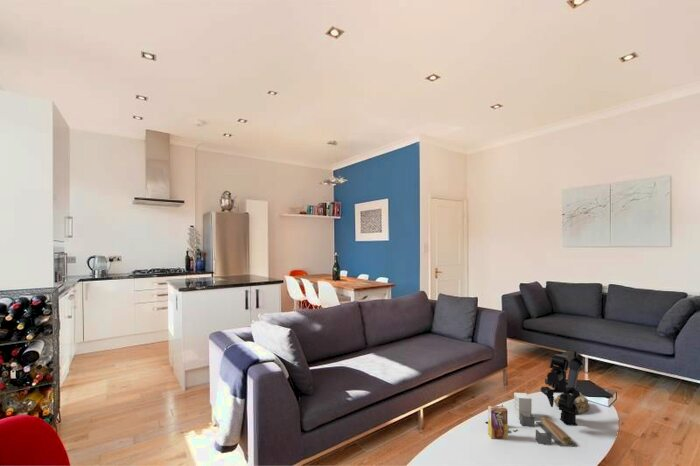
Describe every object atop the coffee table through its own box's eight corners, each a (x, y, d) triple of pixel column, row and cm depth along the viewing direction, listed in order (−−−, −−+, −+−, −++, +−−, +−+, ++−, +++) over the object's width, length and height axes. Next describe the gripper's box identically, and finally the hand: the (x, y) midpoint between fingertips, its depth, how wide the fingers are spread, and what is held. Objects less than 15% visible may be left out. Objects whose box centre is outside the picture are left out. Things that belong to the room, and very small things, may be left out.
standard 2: (548, 440, 171) (548, 430, 172) (551, 444, 168) (551, 433, 169) (535, 440, 172) (535, 429, 172) (538, 443, 168) (538, 433, 169)
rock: (575, 419, 195) (570, 401, 197) (553, 413, 208) (548, 396, 210) (596, 409, 204) (591, 392, 206) (574, 404, 217) (569, 388, 219)
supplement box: (526, 413, 198) (526, 392, 199) (531, 420, 191) (531, 398, 191) (513, 413, 199) (513, 392, 199) (518, 419, 192) (518, 397, 192)
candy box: (504, 434, 176) (504, 405, 177) (508, 439, 172) (508, 409, 172) (487, 433, 176) (487, 405, 177) (491, 438, 172) (491, 409, 172)
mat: (551, 422, 189) (551, 422, 189) (577, 446, 167) (577, 446, 167) (535, 422, 189) (535, 421, 189) (559, 446, 167) (559, 445, 167)
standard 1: (531, 423, 187) (531, 414, 188) (534, 426, 184) (534, 416, 185) (519, 423, 187) (520, 413, 188) (522, 426, 184) (522, 416, 185)
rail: (547, 423, 188) (547, 416, 188) (570, 444, 168) (570, 437, 168) (541, 422, 188) (541, 416, 188) (564, 444, 168) (564, 437, 168)
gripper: (567, 373, 191) (567, 400, 190) (535, 372, 191) (535, 399, 190) (580, 381, 179) (580, 410, 179) (546, 380, 180) (546, 409, 179)
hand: (560, 407), depth 182 cm, fingers open, 9 cm apart
